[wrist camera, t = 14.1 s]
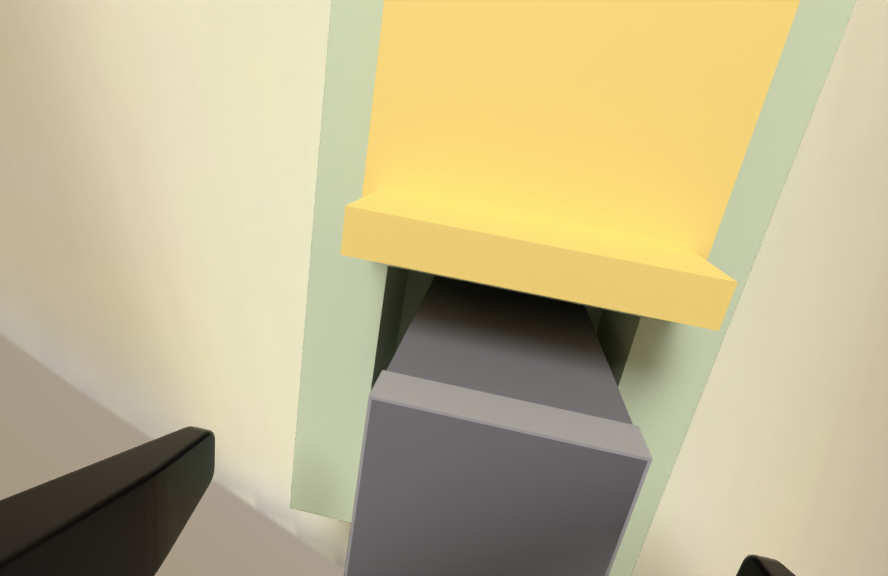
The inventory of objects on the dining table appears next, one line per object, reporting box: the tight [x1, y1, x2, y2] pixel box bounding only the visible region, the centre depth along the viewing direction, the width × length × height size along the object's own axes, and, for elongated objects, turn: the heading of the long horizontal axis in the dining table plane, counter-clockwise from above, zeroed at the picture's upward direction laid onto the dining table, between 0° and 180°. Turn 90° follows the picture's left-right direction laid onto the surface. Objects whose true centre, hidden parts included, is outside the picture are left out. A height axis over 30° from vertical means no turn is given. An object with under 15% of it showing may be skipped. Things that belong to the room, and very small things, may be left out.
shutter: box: [340, 0, 800, 331], centre depth 8 cm, size 6×6×2 cm
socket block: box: [290, 0, 856, 576], centre depth 13 cm, size 9×14×4 cm, turn 170°
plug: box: [344, 275, 653, 576], centre depth 11 cm, size 4×4×7 cm
